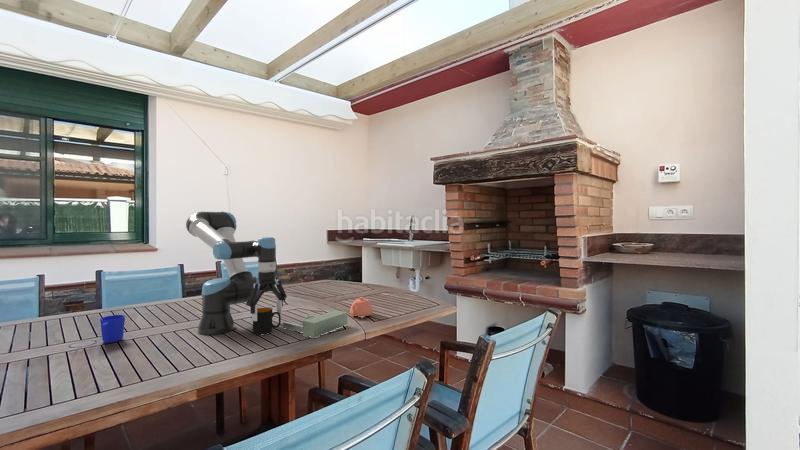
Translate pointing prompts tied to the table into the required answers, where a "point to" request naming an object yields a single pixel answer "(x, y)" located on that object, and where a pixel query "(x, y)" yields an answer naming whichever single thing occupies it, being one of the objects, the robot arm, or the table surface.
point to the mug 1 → (112, 328)
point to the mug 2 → (264, 321)
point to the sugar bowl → (361, 307)
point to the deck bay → (319, 323)
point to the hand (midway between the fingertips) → (267, 317)
